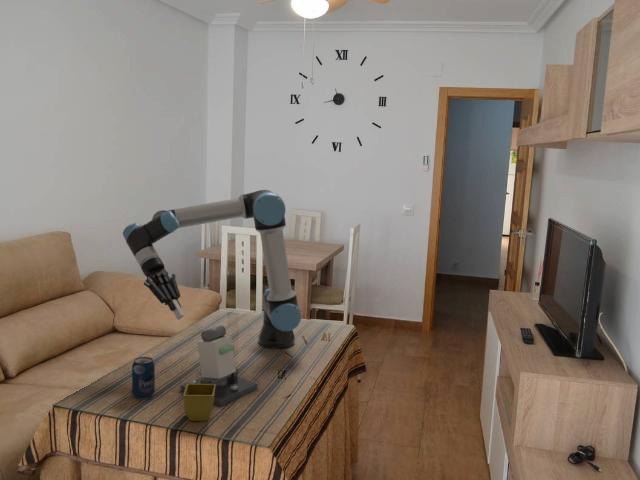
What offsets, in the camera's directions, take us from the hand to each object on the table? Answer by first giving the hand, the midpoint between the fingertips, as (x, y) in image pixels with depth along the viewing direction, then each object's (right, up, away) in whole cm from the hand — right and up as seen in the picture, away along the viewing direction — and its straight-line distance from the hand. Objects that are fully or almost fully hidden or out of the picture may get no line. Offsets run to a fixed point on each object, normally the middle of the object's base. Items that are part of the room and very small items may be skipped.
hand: (181, 317), depth 207 cm
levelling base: (+14, -23, -7) cm, 28 cm away
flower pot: (+12, -27, -27) cm, 40 cm away
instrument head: (+15, -20, -8) cm, 27 cm away
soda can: (-9, -24, -14) cm, 29 cm away
